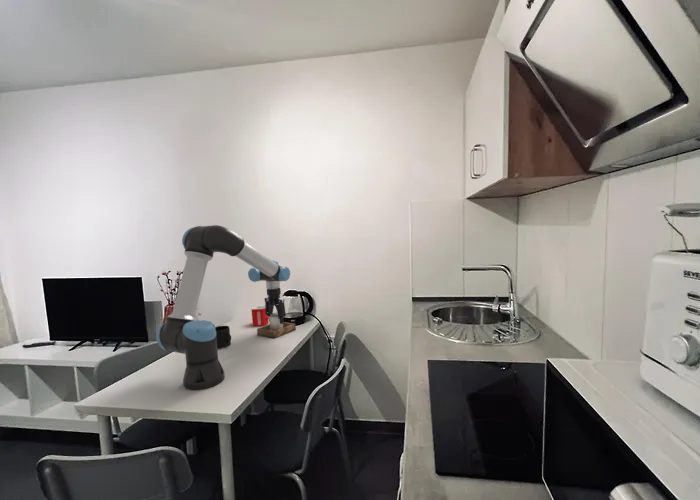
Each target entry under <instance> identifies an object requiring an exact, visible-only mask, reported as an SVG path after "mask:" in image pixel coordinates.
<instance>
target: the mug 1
mask: <svg viewBox="0 0 700 500" xmlns="http://www.w3.org/2000/svg"><path fill="white" fill-rule="evenodd" d="M215 329H216V336H217V349H222V348H227V347H229V346H230V345H231V344H232V343H231V341H232V335H231V330H230V326H229V325H218V326H215Z"/></svg>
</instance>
